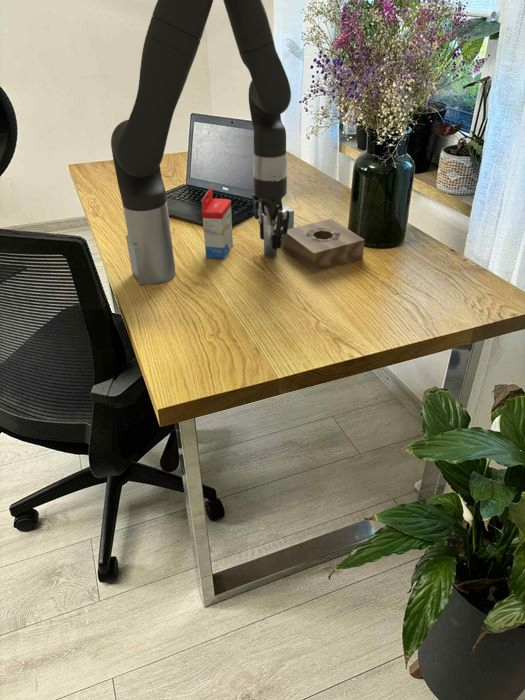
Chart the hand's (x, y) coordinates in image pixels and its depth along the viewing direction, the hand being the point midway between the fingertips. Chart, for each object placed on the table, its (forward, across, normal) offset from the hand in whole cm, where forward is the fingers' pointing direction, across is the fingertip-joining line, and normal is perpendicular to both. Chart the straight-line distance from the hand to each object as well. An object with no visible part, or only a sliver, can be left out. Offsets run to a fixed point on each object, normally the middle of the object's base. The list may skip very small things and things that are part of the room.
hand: (270, 243), depth 131 cm
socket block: (+3, +6, +11) cm, 13 cm away
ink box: (+3, -8, -10) cm, 13 cm away
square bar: (+3, -8, +8) cm, 12 cm away
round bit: (+3, 0, 0) cm, 3 cm away
